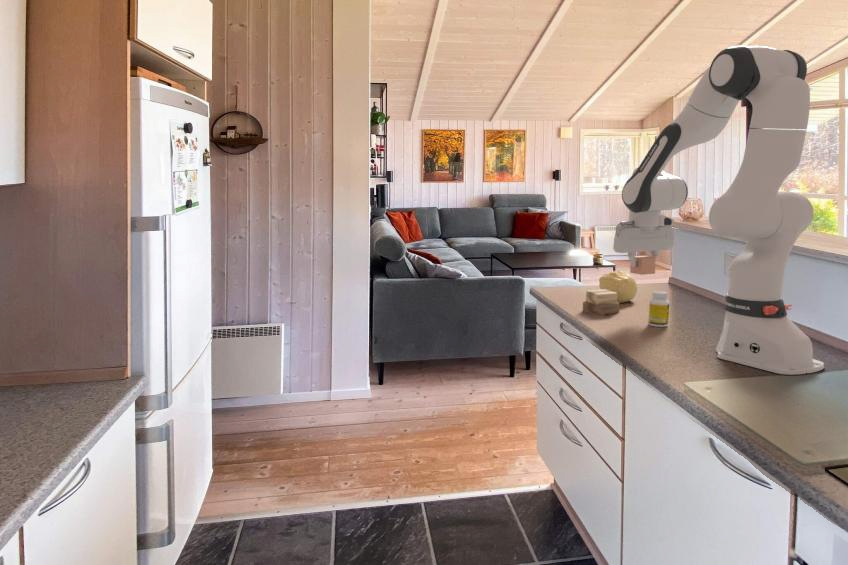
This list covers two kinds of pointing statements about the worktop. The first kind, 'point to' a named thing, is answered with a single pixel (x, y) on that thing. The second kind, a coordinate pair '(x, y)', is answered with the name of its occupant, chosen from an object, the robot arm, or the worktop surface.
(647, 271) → the cube
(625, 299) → the pale yellow rounded lump
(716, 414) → the worktop surface
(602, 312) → the bottom block
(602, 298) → the top block
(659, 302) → the supplement bottle
